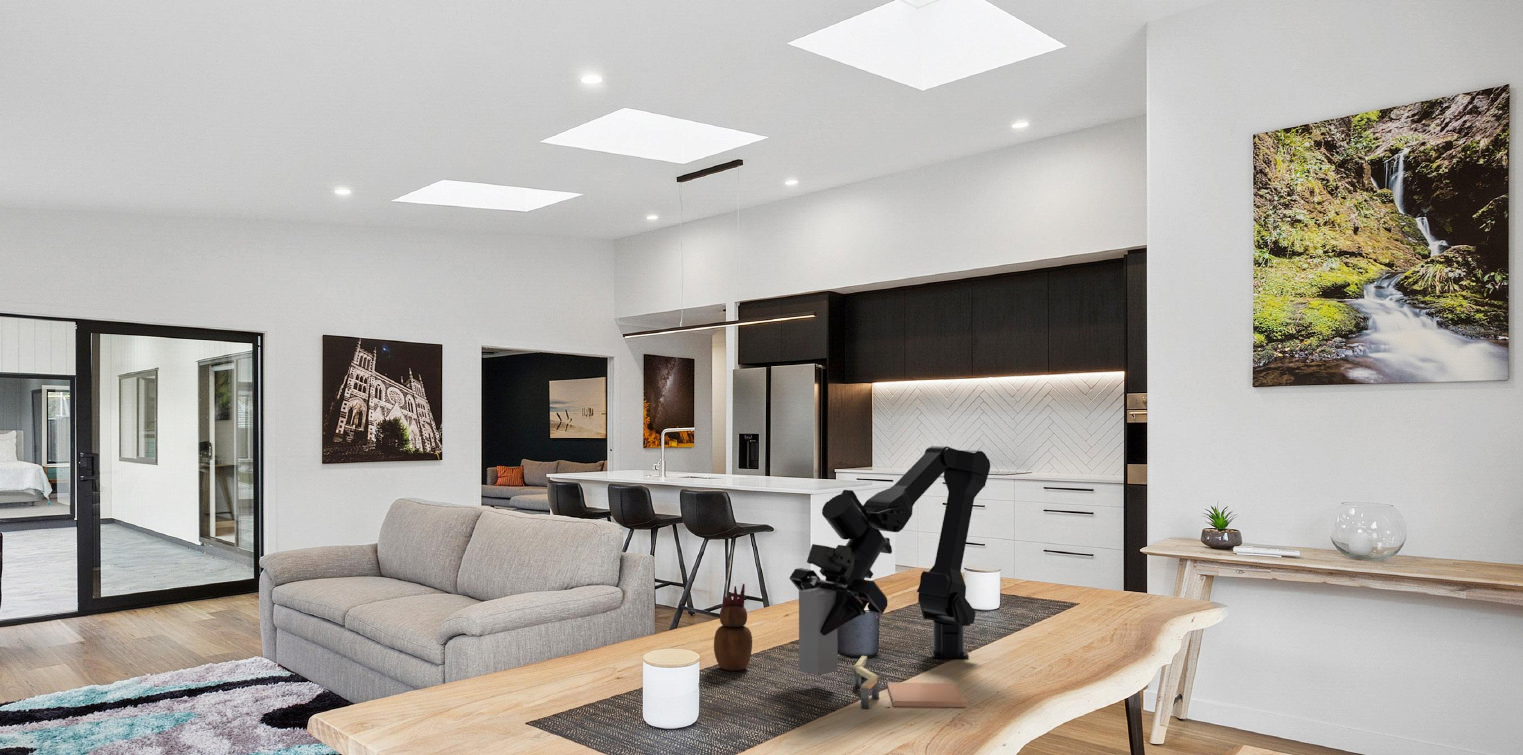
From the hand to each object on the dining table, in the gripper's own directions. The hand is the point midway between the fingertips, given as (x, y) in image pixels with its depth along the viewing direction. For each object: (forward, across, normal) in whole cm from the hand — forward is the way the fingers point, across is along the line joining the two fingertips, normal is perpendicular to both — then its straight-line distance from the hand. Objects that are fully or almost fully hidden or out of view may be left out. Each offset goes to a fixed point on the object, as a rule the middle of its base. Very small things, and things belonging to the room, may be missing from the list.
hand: (812, 631), depth 148 cm
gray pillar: (+4, 0, +6) cm, 7 cm away
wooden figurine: (+8, -18, +5) cm, 21 cm away
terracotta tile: (-1, +14, +14) cm, 21 cm away
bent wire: (+3, +6, +11) cm, 13 cm away
